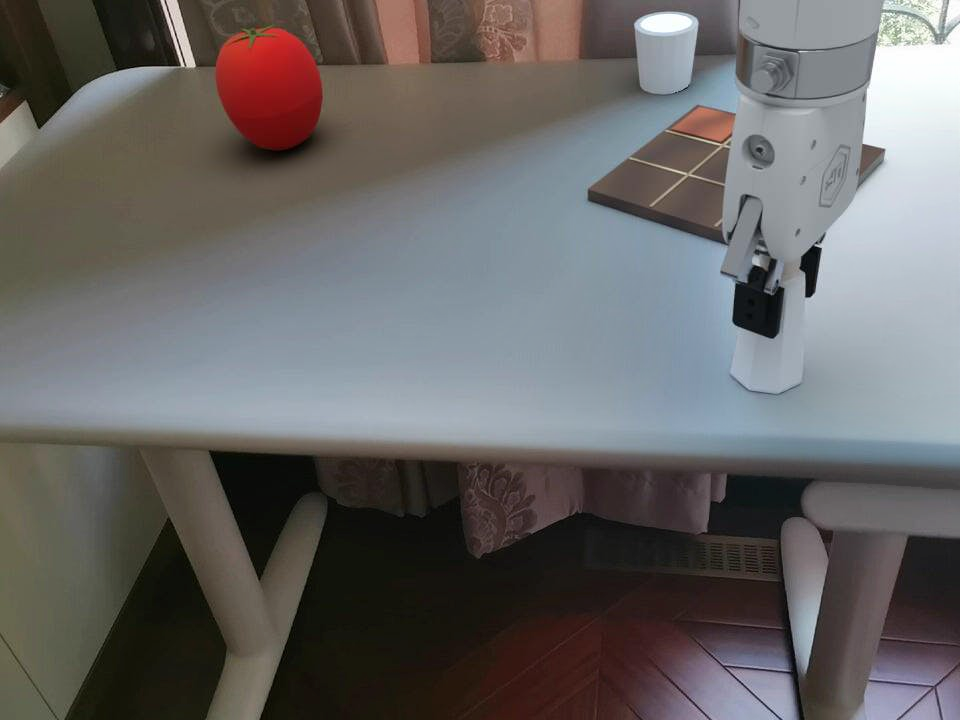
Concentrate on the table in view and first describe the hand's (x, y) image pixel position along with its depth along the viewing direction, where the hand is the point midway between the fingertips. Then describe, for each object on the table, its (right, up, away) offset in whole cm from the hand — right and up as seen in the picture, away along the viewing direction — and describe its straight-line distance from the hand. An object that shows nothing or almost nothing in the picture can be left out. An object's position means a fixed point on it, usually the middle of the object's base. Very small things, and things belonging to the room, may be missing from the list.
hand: (774, 307), depth 66 cm
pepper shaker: (+1, -5, +4) cm, 6 cm away
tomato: (-42, +20, +40) cm, 62 cm away
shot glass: (+1, +27, +42) cm, 50 cm away
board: (+4, +13, +24) cm, 28 cm away
